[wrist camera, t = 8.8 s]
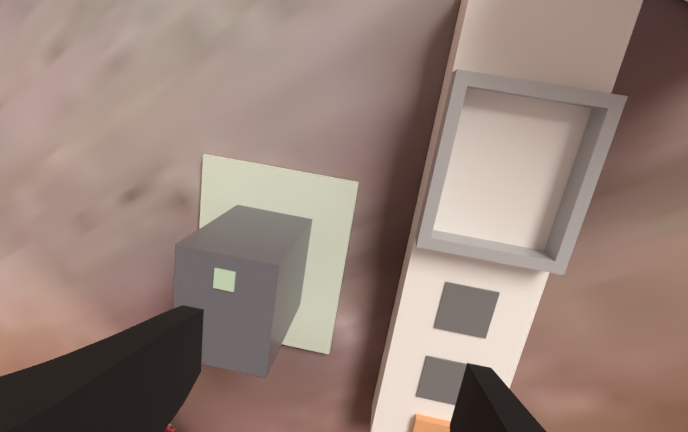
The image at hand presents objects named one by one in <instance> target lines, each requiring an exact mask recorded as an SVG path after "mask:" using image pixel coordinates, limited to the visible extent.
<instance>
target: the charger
mask: <svg viewBox="0 0 688 432" xmlns="http://www.w3.org/2000/svg"><path fill="white" fill-rule="evenodd" d="M311 226H312V219H309V218H304V217H299V216H294V215H288V214H283V213H278V212H273V211H268V210H263V209H257V208H252V207H247V206H242V205H236V206H235V207H233V208H231V209H230V210H228V211H227V212H225V213H224V214H222V215H221V216H219V217H217V218H216V219H214V220H213V221H211V222H210V223H208V224H207V225H205V226H203V227H202V228H200V229H199V230H197V231H196V232H194V233H193V234H191V235H189V236H188V237H186V238H185V239H183V240H182V241H180V242H179V243H177V244H175V270H174V298H173V309H174V308H177V307H179V306H182V305H184V306H189V307H194V308H199V309H204V315H203V337H202V359H201V364H204V365H209V366H213V367H218V368H222V369H226V370H231V371H235V372H240V373H244V374H249V375H253V376H257V377H262V378H266V377H267V375H268V372H269V370H270V368H271V366H272V364H273V362H274V360H275V357H276V355H277V353H278V351H279V349H280V347H281V345H282V343H283V340H284V338H285V336H286V334H287V332H288V330H289V328H290V325H291V323H292V321H293V319H294V317H295V315H296V313H297V311H298V308H299V306H300V303H301V296H302V289H303V282H304V275H305V268H306V261H307V254H308V247H309V240H310V233H311Z"/></svg>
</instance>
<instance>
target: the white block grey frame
mask: <svg viewBox="0 0 688 432" xmlns="http://www.w3.org/2000/svg"><path fill="white" fill-rule="evenodd" d="M642 3H643V0H461V4H460V8H459V13H458V18H457V22H456V27H455V31H454V36H453V40H452V45H451V49H450V54H449V58H448V63H447V67H446V72H445V76H444V81H443V85H442V90H441V94H440V99H439V103H438V108H437V112H436V117H435V122H434V126H433V131H432V135H431V140H430V144H429V149H428V153H427V158H426V162H425V167H424V171H423V176H422V180H421V185H420V189H419V194H418V198H417V203H416V207H415V212H414V216H413V221H412V226H411V230H410V235H409V239H408V244H407V248H406V253H405V257H404V262H403V266H402V271H401V275H400V280H399V284H398V289H397V293H396V298H395V302H394V307H393V311H392V316H391V320H390V325H389V330H388V334H387V339H386V343H385V348H384V352H383V357H382V361H381V366H380V370H379V375H378V379H377V384H376V388H375V393H374V397H373V402H372V412H371V426H370V432H450V422H451V418H452V415H453V411H454V408H455V404H456V401H457V397H458V394H459V390H460V387H461V383H462V379H463V376H464V372H465V369H466V365H467V363H470V364H475V365H480V366H485V367H490V368H492V369H493V370H494V371H495V373H496V374H497V375H498V376H499V377H500V378H501V379H502V381H503V382H504V383H505V384H506V385H507V387H508V388H510V385H511V382H512V379H513V376H514V374H515V371H516V368H517V365H518V362H519V359H520V356H521V353H522V350H523V348H524V345H525V342H526V339H527V336H528V333H529V330H530V327H531V324H532V321H533V319H534V316H535V313H536V310H537V307H538V304H539V301H540V298H541V295H542V292H543V290H544V287H545V284H546V281H547V278H548V275H549V272H550V273H555V274H560V275H564V274H565V271H566V268H567V265H568V263H569V260H570V257H571V254H572V251H573V249H574V246H575V243H576V240H577V237H578V235H579V232H580V229H581V226H582V223H583V221H584V218H585V215H586V212H587V209H588V207H589V204H590V201H591V198H592V195H593V193H594V190H595V187H596V184H597V182H598V179H599V176H600V173H601V170H602V168H603V165H604V162H605V159H606V156H607V154H608V151H609V148H610V145H611V142H612V140H613V137H614V134H615V131H616V128H617V126H618V123H619V120H620V117H621V114H622V112H623V109H624V106H625V103H626V101H627V98H628V96H624V95H618V94H611V92H612V90H613V87H614V84H615V81H616V78H617V75H618V72H619V69H620V66H621V63H622V61H623V58H624V55H625V52H626V49H627V46H628V43H629V40H630V37H631V34H632V32H633V29H634V26H635V23H636V20H637V17H638V14H639V11H640V8H641V5H642Z"/></svg>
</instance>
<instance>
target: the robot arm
mask: <svg viewBox="0 0 688 432" xmlns="http://www.w3.org/2000/svg"><path fill="white" fill-rule="evenodd" d="M203 315H204V309H199V308H194V307H189V306H184V305H182V306H179V307H177V308H174V309H172V310H169V311H167V312H164V313H162V314H160V315H158V316H155V317H153V318H151V319H149V320H147V321H144V322H142V323H140V324H138V325H135V326H133V327H131V328H129V329H126V330H124V331H122V332H120V333H117V334H115V335H113V336H111V337H108V338H106V339H103V340H101V341H98V342H96V343H93V344H91V345H88V346H86V347H83V348H81V349H78V350H76V351H73V352H71V353H69V354H66V355H63V356H61V357H58V358H55V359H53V360H50V361H47V362H44V363H41V364H38V365H35V366H32V367H29V368H26V369H23V370H20V371H17V372H14V373H11V374H7V375H4V376H1V377H0V432H164V430H165V429H166V427H167V426H168V425H169V423H170V422H171V420H172V419H173V418H174V416H175V415H176V413H177V412H178V411H179V409H180V408H181V406H182V405H183V403H184V401H185V400H186V398H187V396H188V394H189V393H190V391H191V389H192V387H193V385H194V383H195V382H196V380H197V378H198V376H199V374H200V372H201V359H202V337H203ZM450 432H546V431H545V430H544V429H543V427H542V426H541V425H540V424H539V423H538V422H537V421H536V419H535V418H534V417H533V416H532V415H531V414H530V413H529V411H528V410H527V409H526V408H525V407H524V406H523V404H522V403H521V402H520V401H519V400H518V398H517V397H516V396H515V395H514V394H513V393H512V391H511V390H510V389H509V388H508V387H507V385H506V384H505V383H504V382H503V381H502V379H501V378H500V377H499V376H498V375H497V374H496V373H495V371H494V370H493V369H492V368H490V367H485V366H480V365H475V364H470V363H467V365H466V369H465V372H464V376H463V379H462V383H461V387H460V390H459V394H458V397H457V401H456V404H455V408H454V411H453V415H452V418H451V422H450Z"/></svg>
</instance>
